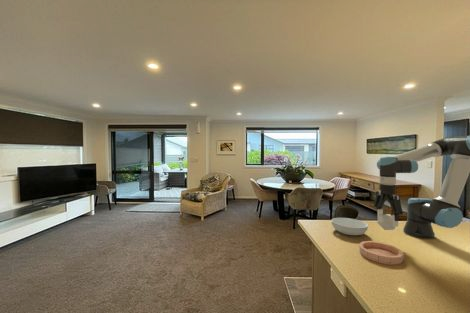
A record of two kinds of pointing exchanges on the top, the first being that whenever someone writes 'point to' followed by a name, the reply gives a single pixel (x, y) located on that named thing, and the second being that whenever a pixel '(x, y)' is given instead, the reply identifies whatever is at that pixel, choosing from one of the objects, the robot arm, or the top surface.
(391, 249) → the tray
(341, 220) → the serving bowl
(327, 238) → the top surface
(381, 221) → the die
